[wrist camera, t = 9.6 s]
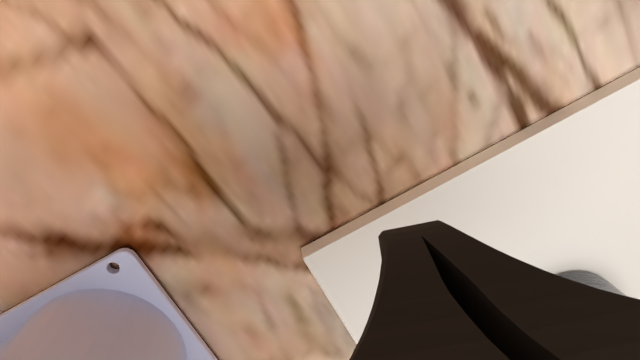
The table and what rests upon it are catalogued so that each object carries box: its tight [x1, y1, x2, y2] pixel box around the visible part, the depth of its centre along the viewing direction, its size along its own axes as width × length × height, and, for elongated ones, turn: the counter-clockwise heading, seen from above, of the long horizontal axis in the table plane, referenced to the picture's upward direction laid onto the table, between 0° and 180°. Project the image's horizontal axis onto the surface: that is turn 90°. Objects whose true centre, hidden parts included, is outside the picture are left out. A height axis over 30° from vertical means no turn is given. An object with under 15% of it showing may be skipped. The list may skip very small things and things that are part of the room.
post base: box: [301, 67, 640, 344], centre depth 24 cm, size 18×18×1 cm
